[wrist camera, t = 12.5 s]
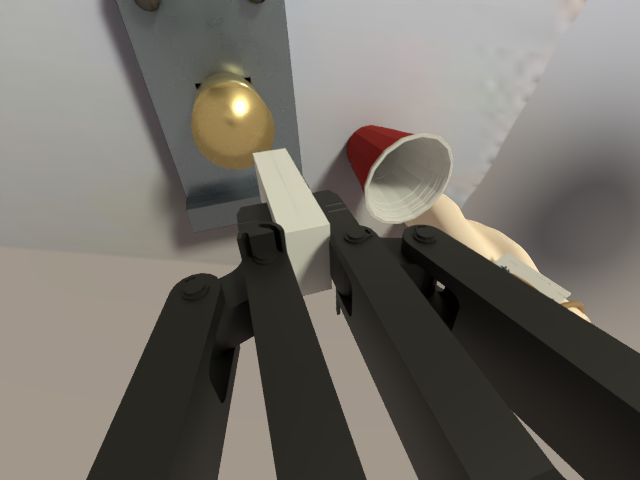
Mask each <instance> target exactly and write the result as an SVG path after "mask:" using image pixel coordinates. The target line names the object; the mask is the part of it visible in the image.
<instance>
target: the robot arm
mask: <svg viewBox="0 0 640 480" xmlns="http://www.w3.org/2000/svg"><path fill="white" fill-rule="evenodd" d="M253 158H254V163H255V169H256V175H257V180H258V186H259V191H260V197H261V202H262V203H261V204H255V205H250V206H244V207H241V208H240V210H239V211H238V213H237V222H238V228H239V233H238V236H237V242H238V246H239V250H240V254H241V258H242V261H241V264H240V265H239V266H238V267H237V268H236V269H235V270H234V271H233V272H231V273H229V274H227V275H226V276H223V277H222V278H219V279H218V278H217V277H216V276H214V275H211V274H205V273H200V274H195V275H191V276H189V277H187V278H184V279H182V280H181V281H180V282H179V283H177V284H176V285H175V286H174V287H173V289H172V290H171V292H170V293H169V296H168V298H167V300H166V302H165V305H164V307H163V309H162V312H161V314H160V316H159V318H158V321H157V322H156V325H155V327H154V329H153V331H152V334H151V336H150V338H149V340H148V343H147V345H146V347H145V349H144V352H143V354H142V356H141V359H140V360H139V363H138V365H137V367H136V369H135V372H134V374H133V376H132V378H131V381H130V383H129V385H128V387H127V390H126V392H125V395H124V396H123V399H122V401H121V403H120V405H119V408H118V410H117V412H116V414H115V416H114V419H113V421H112V423H111V425H110V428H109V430H108V432H107V434H106V437H105V439H104V441H103V443H102V446H101V448H100V450H99V452H98V454H97V457H96V459H95V461H94V464H93V466H92V468H91V470H90V472H89V475H88V477H87V479H86V480H218V473H219V468H220V462H221V456H222V449H223V444H224V439H225V433H226V427H227V421H228V415H229V410H230V404H231V398H232V392H233V386H234V380H235V375H236V368H237V362H238V357H239V351H240V344H241V343H243V342H244V341H246V340H248V339H250V338H251V337H253V336H254V337H255V343H256V350H257V356H258V362H259V368H260V375H261V380H262V387H263V394H264V399H265V406H266V412H267V418H268V425H269V431H270V438H271V444H272V450H273V457H274V462H275V469H276V475H277V480H366V477H365V474H364V471H363V468H362V465H361V462H360V459H359V457H358V454H357V451H356V448H355V445H354V442H353V439H352V437H351V434H350V431H349V428H348V425H347V422H346V419H345V416H344V414H343V411H342V408H341V405H340V402H339V399H338V396H337V393H336V391H335V388H334V385H333V382H332V379H331V376H330V374H329V371H328V368H327V365H326V362H325V359H324V356H323V353H322V350H321V348H320V345H319V342H318V339H317V336H316V333H315V330H314V328H313V325H312V322H311V319H310V316H309V313H308V311H307V308H306V305H305V302H304V299H303V296H305V295H309V294H313V293H317V292H320V291H325V290H328V289H332V280H333V282H334V284H335V286H336V310H337V315H338V314H340V308H341V310H342V312H343V314H344V316H345V319H346V321H347V323H348V325H349V327H350V330H351V332H352V334H353V336H354V338H355V341H356V343H357V345H358V347H359V349H360V352H361V354H362V356H363V358H364V360H365V363H366V365H367V367H368V369H369V371H370V374H371V376H372V378H373V380H374V382H375V384H376V387H377V389H378V391H379V393H380V396H381V398H382V400H383V402H384V404H385V407H386V409H387V411H388V413H389V415H390V418H391V420H392V422H393V424H394V426H395V428H396V431H397V433H398V435H399V437H400V440H401V442H402V444H403V446H404V448H405V451H406V453H407V455H408V457H409V459H410V461H411V464H412V466H413V468H414V470H415V472H416V475H417V477H418V479H419V480H566V479H565V478H564V477H563V476H562V475H561V474H560V473H559V472H558V470H556V468H555V467H554V466H553V465H552V463H551V462H550V460H549V459H548V458H547V456H546V455H545V454H544V452H543V451H542V450H541V449H540V447H539V446H538V445H537V443H536V442H535V441H534V440H533V438H532V437H531V435H530V434H529V433H528V432H527V430H526V429H525V428H524V427H523V425H522V424H521V422H520V421H519V420H518V418H517V417H516V416H515V415H514V413H515V414H516V415H517V416H518V417H519V418H520V419H521V420H522V421H523V422H524V423H525V424H527V425H528V426H529V427H530V428H531V429H532V430H533V431H534V432H535V433H536V434H537V435H538V436H539V437H540V438H541V439H542V440H543V441H544V442H545V443H547V444H548V445H549V446H550V447H551V448H552V449H553V450H554V451H555V452H556V453H557V454H558V455H559V456H560V457H561V458H562V459H563V460H564V461H565V462H567V463H568V464H569V465H570V466H571V467H572V468H573V469H574V470H575V471H576V472H577V473H578V474H579V475H580V476H581V477H582V478H584V480H640V353H638V352H636V351H635V350H633V349H632V348H630V347H628V346H627V345H625V344H623V343H622V342H620V341H618V340H617V339H615V338H614V337H612V336H611V335H609V334H607V333H606V332H604V331H603V330H601V329H599V328H598V327H596V326H595V325H593V324H591V323H590V322H588V321H586V320H585V319H583V318H582V317H580V316H578V315H577V314H575V313H574V312H572V311H570V310H569V309H567V308H566V307H564V306H562V305H561V304H559V303H558V302H556V301H554V300H553V299H551V298H549V297H548V296H546V295H545V294H543V293H541V292H540V291H538V290H537V289H535V288H533V287H532V286H530V285H529V284H527V283H525V282H524V281H522V280H521V279H519V278H517V277H516V276H514V275H512V274H511V273H509V272H508V271H506V270H504V269H503V268H501V267H500V266H498V265H496V264H495V263H493V262H492V261H490V260H488V259H487V258H485V257H484V256H482V255H480V254H479V253H477V252H475V251H474V250H472V249H471V248H469V247H467V246H466V245H464V244H463V243H461V242H459V241H458V240H456V239H455V238H453V237H451V236H450V235H448V234H447V233H445V232H443V231H442V230H440V229H438V228H436V227H433V226H429V225H413V226H409V227H408V228H407V229H405V230H404V232H403V236H402V238H381V237H378V235H377V234H376V233H375V232H374V231H373V230H372V229H370V228H368V227H365V226H360V225H359V224H358V222H357V221H356V220H355V218H354V217H353V215H352V214H351V213H350V211H349V210H348V209H347V207H346V206H345V204H344V203H343V202H342V200H341V199H340V197H339V196H338V195H337V194H335V193H333V192H331V191H329V190H327V191H321V192H316V193H311V191H310V189H309V188H308V186H307V184H306V183H305V181H304V179H303V177H302V176H301V174H300V172H299V171H298V169H297V167H296V165H295V164H294V162H293V160H292V159H291V157H290V155H289V154H288V152H287V150H286V148H284V149H277V150H271V151H264V152H257V153H253ZM437 281H439V282H440V283H441V284H443V285H444V286H445V289H442V288H440V287H439V286H437ZM511 410H512V411H513V412H514V413H513V412H512V411H511Z"/></svg>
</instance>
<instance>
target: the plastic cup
mask: <svg viewBox="0 0 640 480" xmlns="http://www.w3.org/2000/svg"><path fill="white" fill-rule="evenodd" d="M347 154H348V159H349V161H350V163H351V164H352V168H353V170H354V172H355V174H356V176H357V178H358V180H359V182H360V184H361V186H362V190H363V191H364V195H365V205H366V207H367V208H368V210H369V212H370V214H371V215H372V217H373V218H375V219H377V220H379V221H381V222H383V223H388V224H400V223H403V222H406V221H409V220H412V219H415V218H416V217H418V216H419V215H420V214H422V213H423V212H425V211H426V210H428V209H429V208H430V207H431V206H432V205H433V204H434V203H435V202H436V201H437V199H438V198H439V197H440V196H441V195H442V193H443V192H444V190H445V188H446V186H447V184H448V182H449V180H450V178H451V173H452V167H453V157H452V153H451V148H450V146H449V145H448V144H447V143H446V142H445V141H444V140H443V139H442V138H441V137H440V136H436V135H431V134H426V133H417V134H411V133H405V132H401V131H397V130H393V129H389V128H384V127H378V126H373V125H369V126H365V127H361V128H360V129H358V130H357V131H356V132H354V134H353V135H352V136H351V138H350V139H349V142H348V146H347Z"/></svg>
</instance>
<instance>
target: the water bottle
mask: <svg viewBox="0 0 640 480" xmlns="http://www.w3.org/2000/svg"><path fill="white" fill-rule="evenodd" d="M404 223H405V224H406V225H407V226H408V227H409V226H413V225H429V226H433V227H436V228H438V229H440V230H442V231H443V232H445V233H447V234H448V235H450V236H451V237H453V238H455V239H456V240H458V241H459V242H461V243H463V244H464V245H466V246H467V247H469V248H471V249H472V250H474V251H475V252H477V253H479V254H480V255H482V256H484V257H485V258H487V259H488V260H490V261H492V262H493V263H495V264H496V265H498V266H500V267H501V268H503V269H504V270H506V271H508V272H509V273H511V274H512V275H514V276H516V277H517V278H519V279H521V280H522V281H524V282H525V283H527V284H529V285H530V286H532V287H533V288H535V289H537V290H538V291H540V292H541V293H543V294H545V295H546V296H548V297H549V298H551V299H553V300H554V301H556V302H558V303H559V304H561V305H562V306H564V307H566V308H567V309H569V310H570V311H572V312H574V313H575V314H577V315H578V316H580V317H582V318H583V319H585V320H586V321H588V322H590V320H589V319H588V317H587V316H586V315H584V311H585V308H584V306H583V304H582V303H580V302H577V301H570V302H569V301H568V300H566V299H565V298H567V297H568V296H569V295H570V294H571V293H569V292H568V291H566V290H565V289H563V288H562V287H560V286H559V285H557V284H556V283H554V282H553V281H551V280H549V279H548V278H546V277H545V276H543V275H542V274H540V273H539V271H538V270H537V268H536V266H535V265H534V263H533V262H532V260H531V258H530V257H529V255H528V254H527V253H526V252H525V250H524V249H523V248H521V246H519V245H518V244H517V243H515V242H514V241H513V240H511V239H510V238H508V237H507V236H505V235H504V234H503V233H501V232H499V231H497V230H495V229H492V228H490V227H487V226H485V225H482V224H480V223H478V222H475V221H471V220H466V219H465V218H464V216H463V215H462V213H461V211H460V209H459V207H458V206H457V205H456V204H455V203H454V202H453V201H452V200H451V199H449V198H448V197H447V196H446V195H444V194H443V193H442V195H441V196H440V197H439V198H438V199H437V201H436V202H435V203H434V204H433V205H432V206H431V207H430V208H429V209H428V210H426V211H425V212H423V213H422V214H420V215H419V216H418V217H416V218H415V219H412V220H409V221H406V222H404ZM576 307H577V308H576ZM590 323H591V322H590Z"/></svg>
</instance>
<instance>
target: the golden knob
mask: <svg viewBox="0 0 640 480" xmlns="http://www.w3.org/2000/svg"><path fill="white" fill-rule="evenodd" d="M191 129H192V135H193V139H194V141H195V144H196V145H197V147H198V149H199V150H200V152H201V153H202V154H203V155H204V156H205V157H206V158H207V159H208V160H209V161H211V162H212V163H214V164H216V165H218V166H220V167H223V168H227V169H245V168H249V167H251V166H254V165H255V163H254V158H253V153H257V152H264V151H270V149H271V147H272V145H273V142H274V137H275V126H274V121H273V117H272V115H271V113H270V111H269V109H268V107H267V106H266V104H265V103H264V101H263V100H262V98H261V97H260V95H259V94H258V92H257V91H256V89H255V88H254V87H253V86H252V84H251V83H250V82H248V81H247V80H246V79H245V78H243V77H241V76H239V75H237V74H234V73H228V72H221V73H216V74H213V75H211V76H209V77H207V78H206V79H205V80H204V81H203V82H202V83H201V84H200V85H199V87H198V89H197V91H196V94H195V98H194V105H193V113H192V120H191Z"/></svg>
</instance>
